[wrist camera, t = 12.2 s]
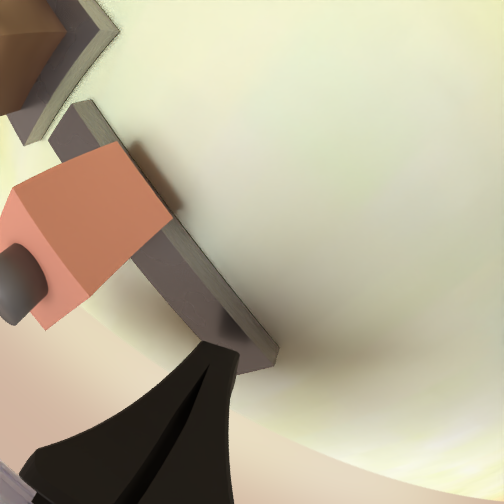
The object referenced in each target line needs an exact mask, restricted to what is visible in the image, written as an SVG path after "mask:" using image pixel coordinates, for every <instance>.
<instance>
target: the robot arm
mask: <svg viewBox="0 0 504 504" xmlns="http://www.w3.org/2000/svg"><path fill="white" fill-rule="evenodd" d="M239 357H240V354H239V353H238V352H237V351H234V350H231V349H228V348H225V347H222V346H219V345H215V344H212V343H209V342H206V341H201V342H200V343H199V344H198V345H197V347H196V348H195V349H194V350H193V351H192V352H191V353H190V354H189V355H188V356H187V357H186V358H185V359H184V360H183V361H182V362H181V363H180V364H179V365H178V366H177V367H176V368H175V369H174V370H173V371H172V372H171V373H170V374H169V375H168V376H166V377H165V378H164V379H163V380H162V381H161V382H160V383H159V384H157V385H156V386H155V387H154V388H152V389H151V390H150V391H149V392H148V393H146V394H145V395H143V396H142V397H141V398H140V399H138V400H137V401H135V402H134V403H133V404H131V405H130V406H128V407H127V408H125V409H124V410H122V411H121V412H119V413H117V414H116V415H114V416H112V417H111V418H109V419H107V420H105V421H104V422H102V423H100V424H98V425H96V426H94V427H93V428H91V429H88V430H86V431H84V432H82V433H79V434H77V435H75V436H73V437H70V438H68V439H65V440H63V441H60V442H57V443H54V444H51V445H48V446H44V447H41V448H38V449H37V450H36V451H35V452H34V453H33V454H32V455H31V456H30V458H29V459H28V460H27V462H26V463H25V465H24V467H23V468H22V469H21V471H20V473H19V476H18V475H17V474H16V473H15V472H14V471H13V470H12V469H10V468H9V467H8V466H7V465H6V464H5V463H4V462H3V461H2V460H1V459H0V504H234V499H233V492H232V485H231V475H230V463H229V444H228V443H229V442H228V441H229V440H228V427H229V426H228V425H229V406H230V397H231V393H232V390H233V387H234V384H235V379H236V374H237V368H238V363H239Z"/></svg>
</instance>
